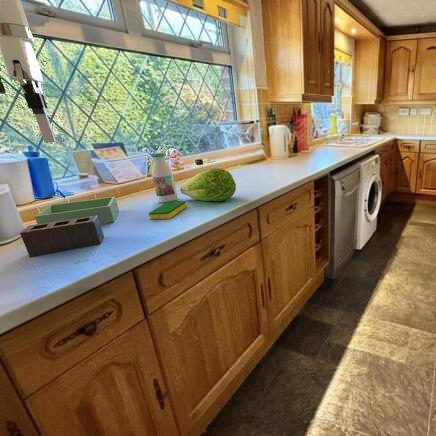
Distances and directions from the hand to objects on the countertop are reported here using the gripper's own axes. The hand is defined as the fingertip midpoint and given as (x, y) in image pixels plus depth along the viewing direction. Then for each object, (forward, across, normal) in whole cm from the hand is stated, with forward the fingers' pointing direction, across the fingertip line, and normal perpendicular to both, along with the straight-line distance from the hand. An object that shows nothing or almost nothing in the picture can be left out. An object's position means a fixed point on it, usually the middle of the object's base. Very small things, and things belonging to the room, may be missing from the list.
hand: (38, 108), depth 86 cm
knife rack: (+37, +16, +1) cm, 41 cm away
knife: (+10, 0, 0) cm, 10 cm away
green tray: (+37, -9, 0) cm, 38 cm away
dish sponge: (+38, -2, +26) cm, 46 cm away
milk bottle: (+38, -22, +26) cm, 51 cm away
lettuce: (+38, -12, +41) cm, 57 cm away
